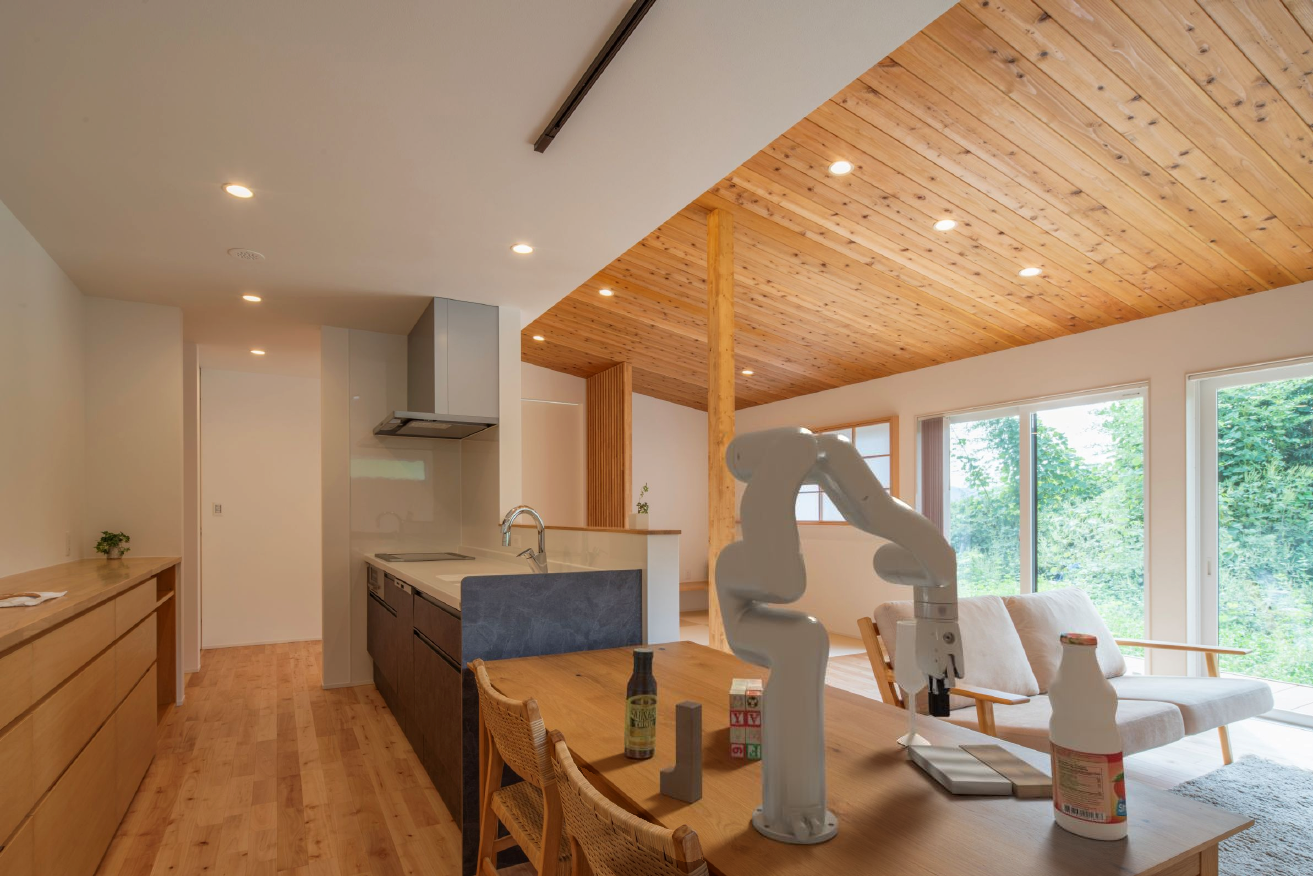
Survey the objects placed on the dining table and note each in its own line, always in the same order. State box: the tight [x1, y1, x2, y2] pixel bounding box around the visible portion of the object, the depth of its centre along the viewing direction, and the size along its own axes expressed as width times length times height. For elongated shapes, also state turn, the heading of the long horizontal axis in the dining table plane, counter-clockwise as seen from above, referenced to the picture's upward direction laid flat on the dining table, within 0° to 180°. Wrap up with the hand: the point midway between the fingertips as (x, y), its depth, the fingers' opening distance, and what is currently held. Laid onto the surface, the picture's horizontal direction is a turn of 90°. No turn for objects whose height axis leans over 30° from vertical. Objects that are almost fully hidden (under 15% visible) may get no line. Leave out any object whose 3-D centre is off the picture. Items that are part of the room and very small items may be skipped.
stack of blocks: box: [728, 678, 764, 761], centre depth 143 cm, size 21×6×12 cm, turn 171°
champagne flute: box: [893, 620, 932, 747], centre depth 143 cm, size 7×7×24 cm
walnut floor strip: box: [958, 743, 1053, 799], centre depth 124 cm, size 20×8×2 cm, turn 3°
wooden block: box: [659, 700, 703, 804], centre depth 116 cm, size 7×3×15 cm, turn 53°
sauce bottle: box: [623, 647, 658, 760], centre depth 135 cm, size 7×6×20 cm
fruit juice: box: [1047, 632, 1128, 841], centre depth 105 cm, size 9×9×28 cm
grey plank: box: [907, 745, 1013, 796], centre depth 124 cm, size 18×10×2 cm, turn 3°
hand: (939, 715), depth 124 cm, fingers closed
